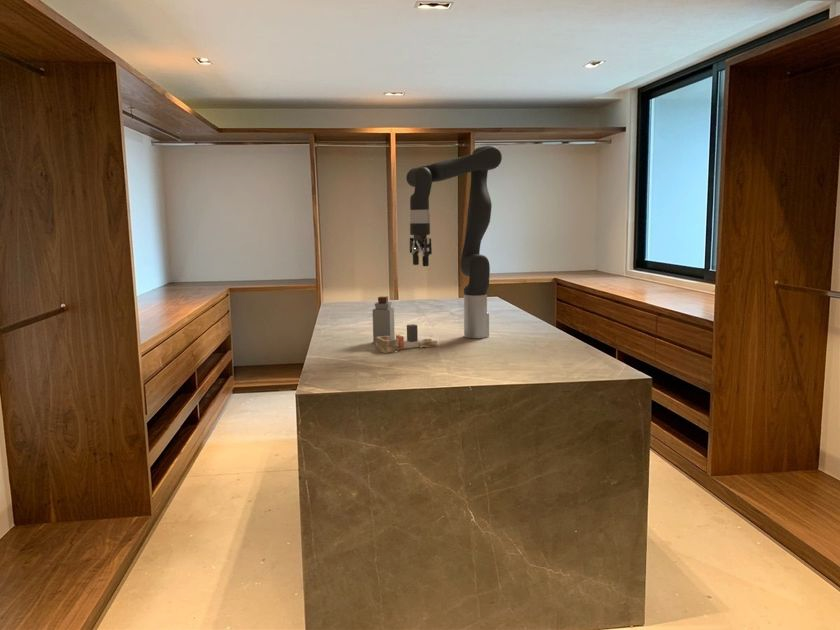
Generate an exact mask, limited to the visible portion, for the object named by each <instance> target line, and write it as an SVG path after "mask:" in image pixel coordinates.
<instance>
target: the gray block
mask: <svg viewBox="0 0 840 630" xmlns="http://www.w3.org/2000/svg"><path fill="white" fill-rule="evenodd" d="M418 333H419V332H418V325H417V324H407V325H406V340H405V338H404V336H402V335H401V334H396V335H395V339H398V345H399V349H400V350H405V349H410V348H419V342H425V340H423V339H424V338H419V337H418Z"/></svg>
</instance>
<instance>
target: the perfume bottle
mask: <svg viewBox="0 0 840 630" xmlns="http://www.w3.org/2000/svg"><path fill="white" fill-rule="evenodd" d="M374 306H375V308H373V309H372V338H373V341H372V342H373V345H374V344H376V341H375V337H381V336H390V340H395V339H396V335H395V307H393V306H392V301H389V296H377V302H374Z"/></svg>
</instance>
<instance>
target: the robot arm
mask: <svg viewBox="0 0 840 630" xmlns="http://www.w3.org/2000/svg"><path fill="white" fill-rule="evenodd" d="M502 156H503V155H502V152H501V150H500V149H499V148H498V147H497V146H494V145H484V146H480V147H479V146H478V147H476V148H474V150H473V151H472V154H469V155H464V156H460V157H459V156H458V157H453V158H448V159H444V160H441V161H437V162H434V163H431V164H427V165H423V166H418V167H414V168H411V169H410V170H409V171H408V172H407V174H406V177H405V178H406V182H407V184H408V185H409V186H410V187H413V188H414V192H413V194H411V196H410V199H409V204H410V205H409V209H410V210H409V211H410V212H409V235H411V236H413V237H409V253H410V254H411V255H412V265H413V266H418V265H420V263H419V262H420V261H419V260H420V259H419V258H420V257H419V253H420V252H421V257H422V260H421V261H422V267H428V266H429V257H430V255H432V253H433V252H432V238H429V237H428V238H427V236H428V235H430V234H431V215H430V200H429V199H430V196H431V195H430V194H431V191H432V190H431V189H432V186H433V185H432V184H433V183H435V182H436V183H437V182H442V181H446V180H449V179H453V178H456V177H459V176H461V175H464V174H467V173H468V174H469V173H470V185H469V198H468V205H467V215H466V225H465V226H466V227H465V234H464V236H465V237H464V244H463V248H462V252H461V257H460V271H461V273H462V274H463V275H464V276H466V277H469V280H468V284H467V285H466V286H465V287H464V288H463V334H464V335H463V336H464V338H466V339H485V338H488V337H490V313H489V312H488V290H489V286H490V277H491V276H490V275H491V273H490V272H491V270H490V269H491V264H490V262H489V259H488V257H487V256H486V255H483V254H480V253H481V252H480V251H481V244H482V240H483V238H484V235H485V234H486V231H487V229H488V228H489V225H490V222H491V218H492V217H491V216H492V200H491V197H490V193H489V189H488V185H487V182H488V173H489V171H492V170H494V169H497V167H499V166H500V165H501V163H502V160H503V157H502Z"/></svg>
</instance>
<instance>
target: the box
mask: <svg viewBox="0 0 840 630" xmlns="http://www.w3.org/2000/svg"><path fill="white" fill-rule="evenodd" d="M375 341H376V345H375V349H376V350H377V349H378V351H379V350H380V352H381V351H382V353H383V354H387V353H386V352H391V353H396V352H395V351H400V350H399V345H398V339H396V338H395V340H390V336H381V337H375Z"/></svg>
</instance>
